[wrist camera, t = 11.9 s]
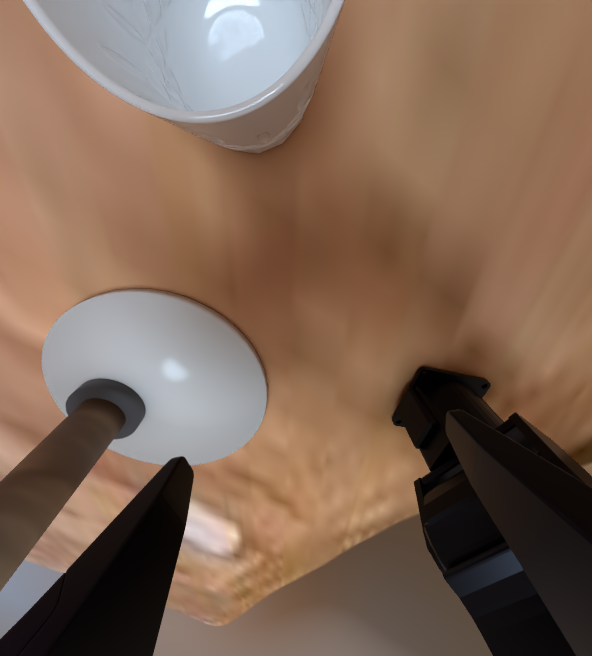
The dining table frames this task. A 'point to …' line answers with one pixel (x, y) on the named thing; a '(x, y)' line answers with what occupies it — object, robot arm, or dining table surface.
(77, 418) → the brown tapered knob
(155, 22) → the white cup
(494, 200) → the dining table surface
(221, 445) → the white smooth round part
